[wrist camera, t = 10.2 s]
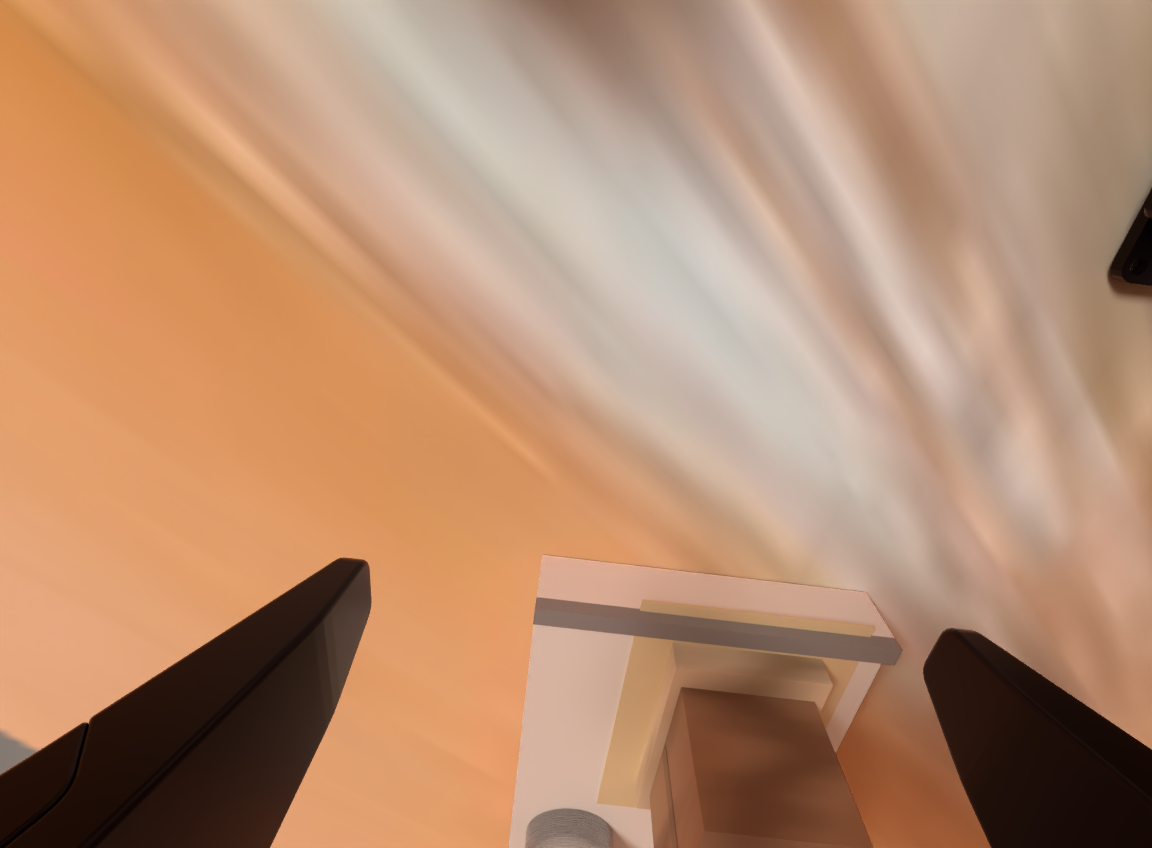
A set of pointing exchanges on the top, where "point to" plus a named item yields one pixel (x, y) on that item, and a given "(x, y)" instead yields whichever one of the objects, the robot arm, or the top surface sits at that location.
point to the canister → (568, 830)
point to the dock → (660, 671)
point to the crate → (744, 755)
